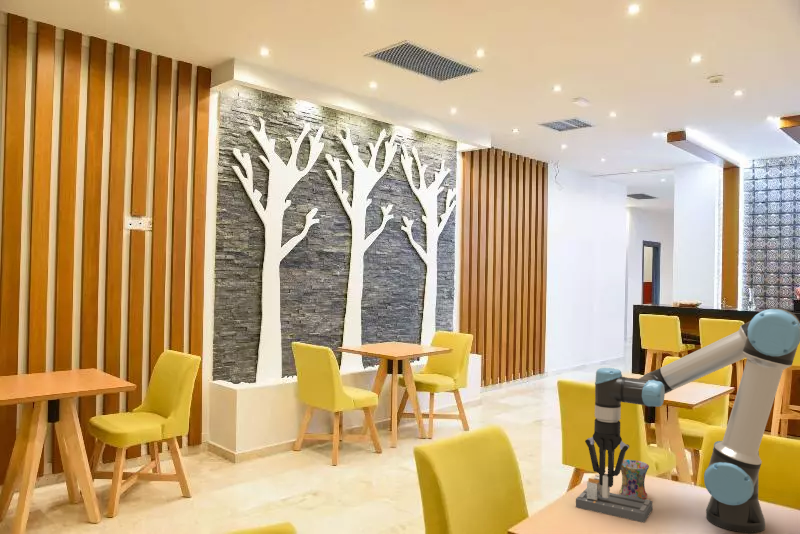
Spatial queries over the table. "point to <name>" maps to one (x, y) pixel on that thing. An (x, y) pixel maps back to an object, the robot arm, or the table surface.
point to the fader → (593, 489)
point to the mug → (633, 479)
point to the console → (616, 505)
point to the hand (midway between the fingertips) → (605, 496)
